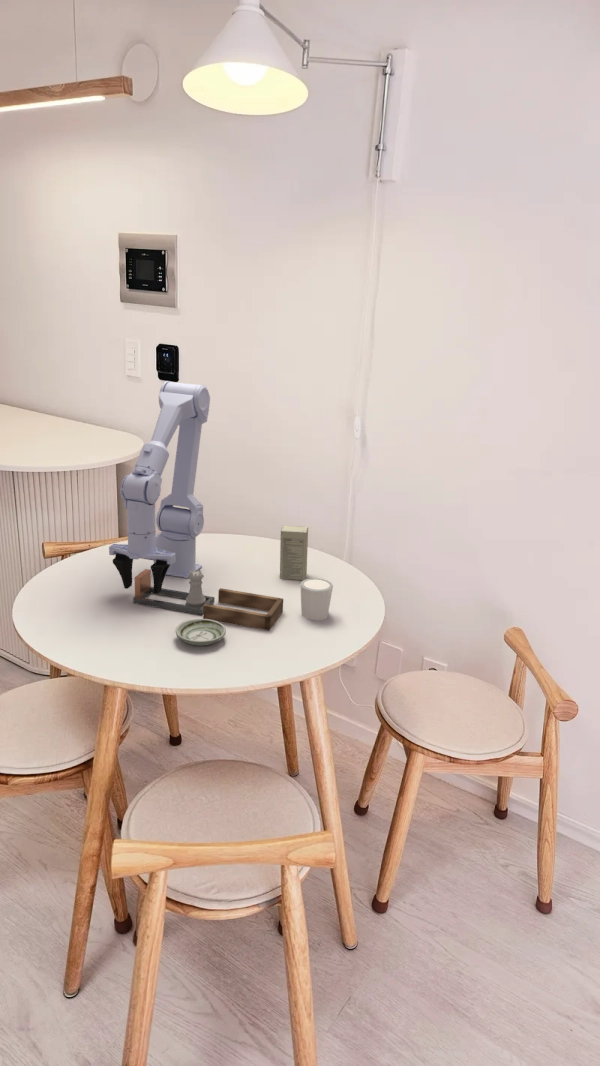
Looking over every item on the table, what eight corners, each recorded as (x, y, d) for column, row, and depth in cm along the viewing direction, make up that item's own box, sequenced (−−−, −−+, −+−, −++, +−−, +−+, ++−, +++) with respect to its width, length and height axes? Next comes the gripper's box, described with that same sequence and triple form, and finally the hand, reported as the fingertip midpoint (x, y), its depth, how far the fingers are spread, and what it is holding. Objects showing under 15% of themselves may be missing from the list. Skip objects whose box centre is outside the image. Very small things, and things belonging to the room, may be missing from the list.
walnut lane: (203, 618, 143) (203, 605, 142) (220, 600, 152) (220, 588, 151) (269, 630, 140) (269, 617, 139) (282, 611, 149) (283, 598, 148)
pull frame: (133, 602, 148) (132, 578, 147) (147, 590, 155) (147, 567, 153) (202, 615, 145) (202, 590, 143) (214, 602, 151) (214, 578, 149)
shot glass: (314, 604, 153) (316, 575, 151) (337, 615, 148) (339, 585, 146) (291, 613, 148) (293, 582, 146) (314, 624, 144) (317, 593, 141)
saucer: (211, 657, 129) (211, 645, 129) (166, 645, 132) (165, 634, 132) (234, 635, 138) (234, 624, 137) (190, 625, 141) (190, 614, 140)
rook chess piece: (210, 607, 149) (210, 572, 146) (192, 612, 146) (192, 577, 143) (198, 600, 152) (199, 566, 149) (181, 605, 149) (181, 570, 146)
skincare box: (306, 574, 169) (309, 526, 165) (305, 581, 165) (308, 532, 161) (280, 571, 169) (282, 524, 165) (278, 578, 165) (280, 530, 161)
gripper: (100, 531, 144) (103, 591, 149) (164, 541, 141) (165, 602, 145) (117, 521, 151) (119, 579, 155) (179, 530, 147) (179, 589, 152)
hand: (142, 589), depth 151 cm, fingers open, 6 cm apart
